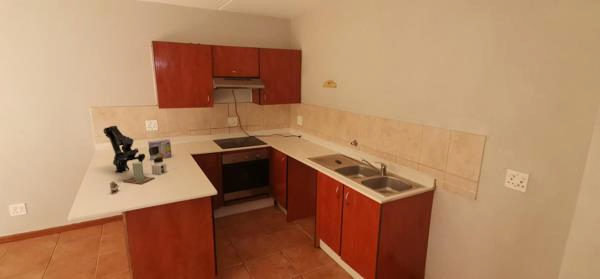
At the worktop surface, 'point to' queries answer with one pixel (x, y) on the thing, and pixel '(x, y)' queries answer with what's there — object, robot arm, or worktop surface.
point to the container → (158, 166)
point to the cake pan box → (160, 148)
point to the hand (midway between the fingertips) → (135, 168)
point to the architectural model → (113, 186)
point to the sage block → (138, 171)
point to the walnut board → (146, 179)
